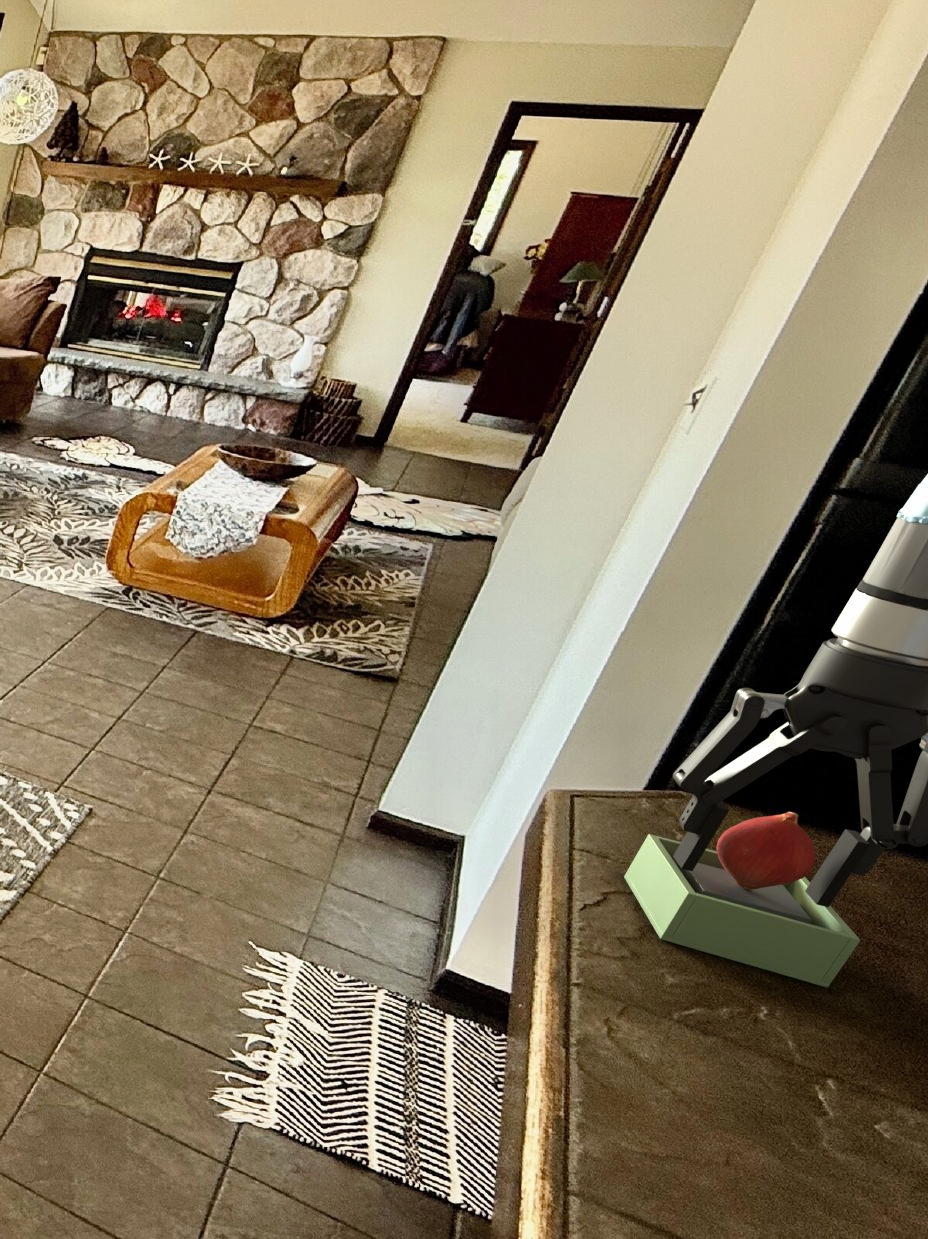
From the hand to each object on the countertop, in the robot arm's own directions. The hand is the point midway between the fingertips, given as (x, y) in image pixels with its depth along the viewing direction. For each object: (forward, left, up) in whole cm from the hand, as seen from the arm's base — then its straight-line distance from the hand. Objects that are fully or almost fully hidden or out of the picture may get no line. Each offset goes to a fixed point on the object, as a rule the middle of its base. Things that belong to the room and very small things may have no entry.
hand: (748, 880), depth 105 cm
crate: (0, 0, -5) cm, 5 cm away
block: (0, 0, -5) cm, 5 cm away
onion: (0, 0, -1) cm, 1 cm away
